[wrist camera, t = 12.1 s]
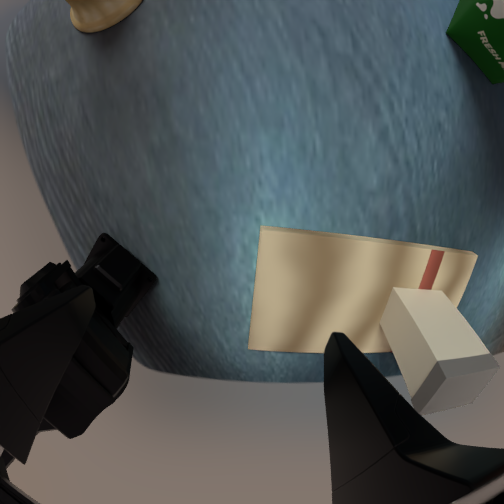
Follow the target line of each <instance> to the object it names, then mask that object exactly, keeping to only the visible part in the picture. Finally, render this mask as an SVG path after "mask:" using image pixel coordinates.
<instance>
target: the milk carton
mask: <svg viewBox="0 0 504 504" xmlns="http://www.w3.org/2000/svg"><path fill="white" fill-rule="evenodd" d="M446 33H447V34H448V35H449V36H450V37H451V38H452V39H453V40H454V41H455V42H456V43H457V44H458V45H459V46H460V47H461V48H462V49H463V50H464V51H465V52H466V53H467V55H468V56H469V57H470V58H471V59H472V60H473V61H474V62H475V63H476V65H477V66H478V67H479V68H480V69H481V70H482V72H483V73H484V74H485V75H486V77H487V78H488V79H489V80H490V82H491V83H492V84H496V83H503V82H504V0H460V1H459V3H458V6H457V8H456V11H455V13H454V16H453V18H452V20H451V23H450V25H449V27H448V29H447V32H446Z"/></svg>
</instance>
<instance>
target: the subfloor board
mask: <svg viewBox="0 0 504 504" xmlns="http://www.w3.org/2000/svg"><path fill="white" fill-rule="evenodd" d="M477 257H478V256H477V255H476V254H475V253H473V252H471V251H464V250H458V249H451V248H445V247H438V246H431V245H424V244H417V243H409V242H402V241H394V240H387V239H379V238H371V237H363V236H354V235H346V234H337V233H328V232H319V231H310V230H301V229H291V228H281V227H271V226H260V236H259V246H258V256H257V266H256V275H255V285H254V294H253V304H252V313H251V323H250V332H249V341H248V349H252V350H265V351H281V352H304V353H324V350H325V347H326V344H327V342H328V340H329V337H330V335H331V333H332V332H342V333H344V334H345V335H346V336H347V337H348V338H349V339H350V340H351V341H352V342H353V343H354V344H355V345H356V347H357V348H358V349H359V350H360V351H361V352H362V353H374V352H392V349H391V347H390V345H389V343H388V340H387V338H386V336H385V334H384V332H383V329H382V327H381V325H380V320H381V318H382V315H383V313H384V310H385V308H386V305H387V302H388V300H389V297H390V294H391V291H392V289H393V287H397V288H410V289H425V290H441V291H443V293H444V294H445V295H446V296H447V297H448V299H449V300H450V301H451V302H452V303H453V305H454V306H455V307H456V308H457V306H458V304H459V302H460V300H461V297H462V295H463V293H464V291H465V288H466V286H467V283H468V281H469V278H470V276H471V273H472V271H473V268H474V265H475V262H476V260H477Z"/></svg>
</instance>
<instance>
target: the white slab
mask: <svg viewBox="0 0 504 504" xmlns="http://www.w3.org/2000/svg"><path fill="white" fill-rule="evenodd" d="M380 325H381V327H382V329H383V332H384V334H385V336H386V338H387V340H388V343H389V345H390V347H391V349H392V352H393V354H394V356H395V359H396V361H397V364H398V366H399V368H400V371H401V373H402V376H403V378H404V381H405V383H406V385H407V388H408V391H409V393H410V396H411V401H412V404H413V407H414V409H415V410H416V411H417V412H418V413H419V414H420V415H426V414H431V413H435V412H440V411H444V410H448V409H452V408H456V407H460V406H464V405H467V404H470V403H473V402H474V400H475V399H476V398H477V397H478V395H479V394H480V393H481V392H482V391H483V389H484V388H485V387H486V385H487V384H488V383H489V382H490V380H491V379H492V377H493V376H494V375H495V373H496V372H497V371H498V369H499V368H500V366H499V365H498V363H497V361H496V360H495V359H494V357H493V355H492V354H491V353H489V351H488V350H487V348H486V347H485V345H484V344H483V343H482V341H481V340H480V338H479V337H478V336H477V334H476V333H475V332H474V330H473V329H472V328H471V326H470V325H469V324H468V322H467V321H466V320H465V318H464V317H463V316H462V315H461V313H460V312H459V311H458V310H457V308H456V307H455V306H454V305H453V303H452V302H451V301H450V300H449V299H448V297H447V296H446V295H445V294H444V293H443V291H441V290H425V289H410V288H397V287H393V289H392V291H391V294H390V297H389V300H388V302H387V305H386V308H385V310H384V313H383V315H382V318H381V320H380Z"/></svg>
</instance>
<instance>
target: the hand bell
mask: <svg viewBox="0 0 504 504" xmlns="http://www.w3.org/2000/svg"><path fill="white" fill-rule="evenodd" d="M66 1H67V2H68V3H69V4H70V6H71V11H70V16H71V21H72V23H73V25H74V26H75V28H76V29H78V30H80V31H82V32H97V31H101V30H104V29H106V28H109V27H111V26H113V25H115V24H117V23H118V22H120V21H121V20H123V19H124V18H125V17H127V16H128V15H129V14H131V13H132V12H133V11H134V10H135V9H136V8H137V7H138V6H139V4H140V3H141V2H142V0H66Z"/></svg>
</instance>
